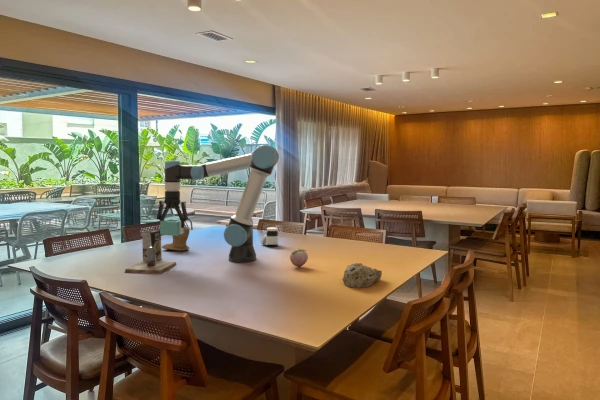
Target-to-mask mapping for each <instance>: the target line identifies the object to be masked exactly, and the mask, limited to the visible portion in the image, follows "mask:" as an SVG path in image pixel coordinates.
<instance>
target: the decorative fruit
mask: <svg viewBox="0 0 600 400" xmlns="http://www.w3.org/2000/svg"><path fill="white" fill-rule="evenodd" d="M307 252H308V251H307V250H306V249H302V248H301V249H296V250H293V251H292V252H291V253H290V256H289V259H290V262H291V264H292V265H293V266H295V267H297V268H301V267H303V266H304V265H305V264H306V263H307V261H308V259H309V256H308V253H307Z"/></svg>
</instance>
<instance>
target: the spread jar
mask: <svg viewBox="0 0 600 400" xmlns="http://www.w3.org/2000/svg"><path fill="white" fill-rule="evenodd" d="M260 243H261V245H263V246H265V245H266V247H268V248H275V247H278V246H279V230H278V227H275V226H273V227H272V226H271V227H267V228H266V234H264V235H263V236H262V237H261V240H260Z"/></svg>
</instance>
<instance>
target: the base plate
mask: <svg viewBox="0 0 600 400" xmlns="http://www.w3.org/2000/svg"><path fill="white" fill-rule="evenodd" d="M176 265H177V262H176V261H164V260H163V261H161V260H160V261H159V260H157V261H156V265H155V266H147V261H143V260H142V261H140V262H138V263H136V264H134V265H131V266H129V267H127V268H125V269H124V272H125V273H134V274H135V273H138V274H139V273H140V274H163V273H164V272H165V271H168V270H169V269H171V268H172V267H173V268H174V267H175V266H176Z"/></svg>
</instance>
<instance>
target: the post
mask: <svg viewBox="0 0 600 400" xmlns="http://www.w3.org/2000/svg"><path fill="white" fill-rule="evenodd" d="M155 265H156V258H155V248H154V247H149V248H148V249H147V266H155Z"/></svg>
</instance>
